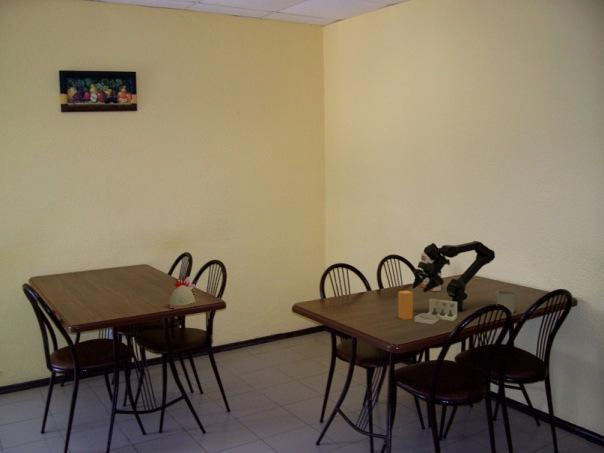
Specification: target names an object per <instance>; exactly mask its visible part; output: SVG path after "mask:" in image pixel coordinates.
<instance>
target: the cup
mask: <svg viewBox="0 0 604 453" xmlns="http://www.w3.org/2000/svg"><path fill="white" fill-rule="evenodd" d="M497 304H501V305H504V306H505V307H507V308H508V309H509V310H510V311H511V312H512V314H514V313H515V291H512V290H511V291H510V290H498V291H496V305H497ZM513 312H514V313H513Z"/></svg>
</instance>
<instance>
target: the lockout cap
mask: <svg viewBox="0 0 604 453" xmlns="http://www.w3.org/2000/svg"><path fill="white" fill-rule="evenodd" d="M413 295H414V293H413V292H412V291H410V290H401V291H398V293H397V296H398V297H397V298H398V299H397V301H398V302H397V303H398V304H397V307H398V310H397V313H398V315H397V317H398V318H399V319H401V320H403V321H404V320H405V321H406V320H411V319H413V313H414V312H413V307H414V305H413V303H414V302H413V301H414V299H413V298H414V297H413Z"/></svg>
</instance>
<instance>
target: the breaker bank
mask: <svg viewBox="0 0 604 453" xmlns="http://www.w3.org/2000/svg"><path fill="white" fill-rule="evenodd" d="M428 300H429V301H428V307H429V308H428V311H427V313H426V314H433V315H439V320H444V321H451V322H454V321H455V320H457V318H458V311H457V302H452V300H451V301H450V300H442V299H435V298H429V299H428Z"/></svg>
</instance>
